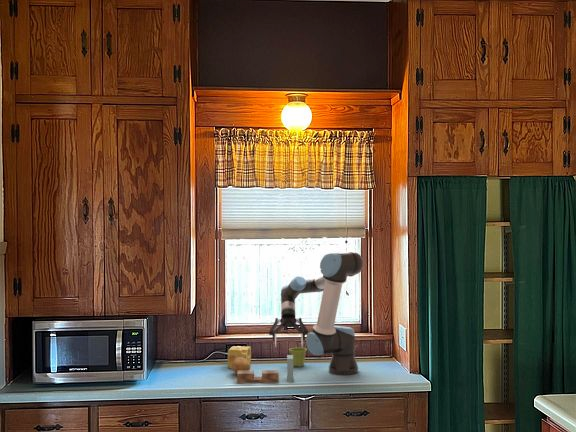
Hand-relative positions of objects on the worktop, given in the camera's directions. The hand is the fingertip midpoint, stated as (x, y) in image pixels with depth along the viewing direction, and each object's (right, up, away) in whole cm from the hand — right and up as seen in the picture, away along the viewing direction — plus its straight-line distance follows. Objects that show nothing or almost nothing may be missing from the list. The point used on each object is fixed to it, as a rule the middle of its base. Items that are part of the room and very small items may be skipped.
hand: (288, 345), depth 336 cm
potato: (-24, -14, -2) cm, 28 cm away
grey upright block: (+1, -14, -12) cm, 18 cm away
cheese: (-27, -14, +16) cm, 34 cm away
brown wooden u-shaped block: (-15, -14, -15) cm, 26 cm away
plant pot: (+5, -14, +17) cm, 23 cm away
